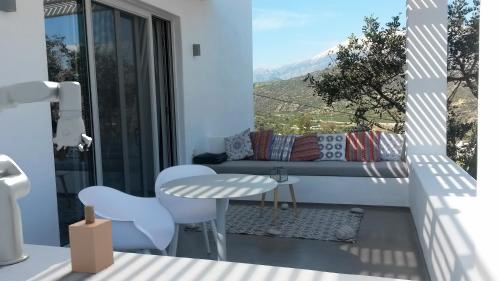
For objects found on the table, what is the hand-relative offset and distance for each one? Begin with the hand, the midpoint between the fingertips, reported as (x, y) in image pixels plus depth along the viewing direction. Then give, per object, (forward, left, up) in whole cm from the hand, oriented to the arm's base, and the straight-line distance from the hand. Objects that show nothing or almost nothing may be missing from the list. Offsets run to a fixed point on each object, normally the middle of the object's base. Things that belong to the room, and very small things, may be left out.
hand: (72, 161), depth 163 cm
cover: (+12, -7, -37) cm, 39 cm away
